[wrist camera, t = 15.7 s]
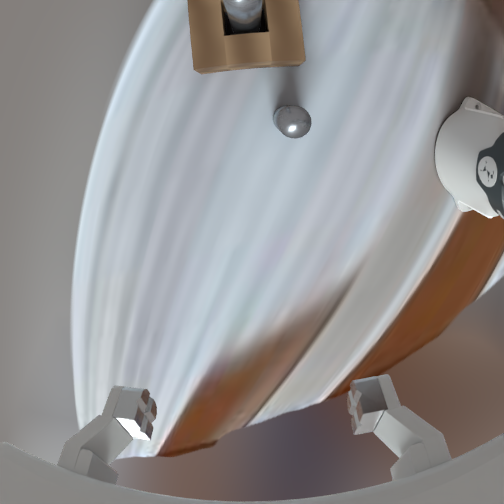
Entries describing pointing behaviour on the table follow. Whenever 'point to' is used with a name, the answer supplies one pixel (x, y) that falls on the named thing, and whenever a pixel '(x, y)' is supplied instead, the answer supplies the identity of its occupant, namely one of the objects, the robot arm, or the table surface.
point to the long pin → (244, 15)
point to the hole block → (245, 38)
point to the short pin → (292, 121)
